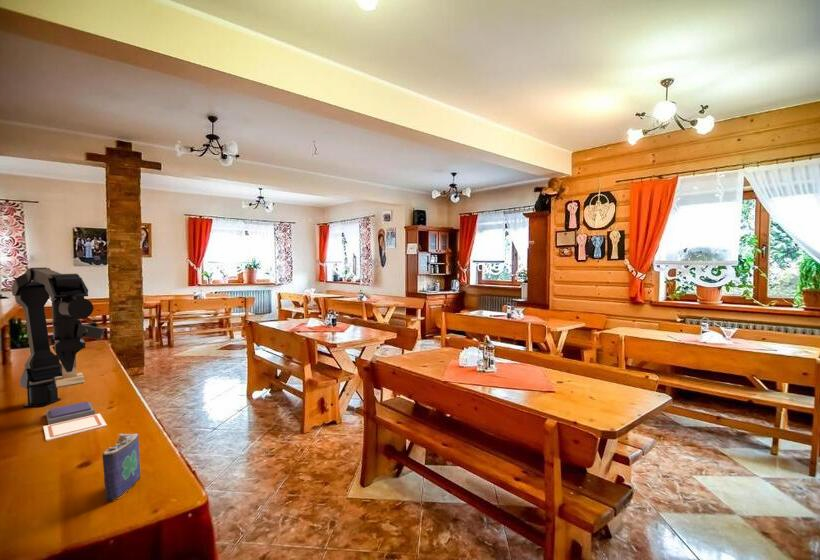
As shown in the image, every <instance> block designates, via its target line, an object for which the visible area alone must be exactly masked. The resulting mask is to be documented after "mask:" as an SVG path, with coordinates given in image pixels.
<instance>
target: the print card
mask: <svg viewBox="0 0 820 560" xmlns="http://www.w3.org/2000/svg"><path fill="white" fill-rule="evenodd" d="M107 426H108V424H107V423H106V420H105V419H104V418H103V416H102V414H101V413H95V414H93V415H88V416H84V417H80V418H75V419H71V420H66V421H62V422H57V423H53V424H49V425H43V426H42V429H43V433H44V437H45V441H46V442H48V441H52V440H57V439H60V438H65V437H68V436H73V435H76V434H81V433H83V432H89V431H91V430H92V431H93V430H97V429H100V428H104V427H107Z"/></svg>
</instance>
